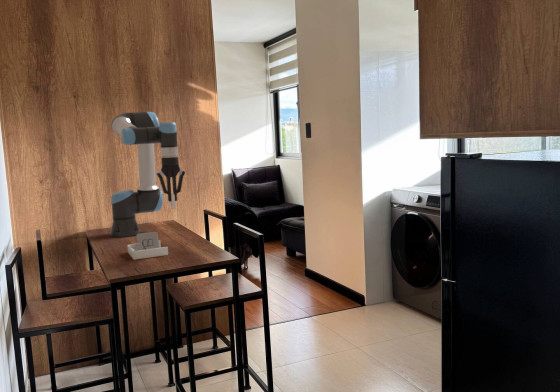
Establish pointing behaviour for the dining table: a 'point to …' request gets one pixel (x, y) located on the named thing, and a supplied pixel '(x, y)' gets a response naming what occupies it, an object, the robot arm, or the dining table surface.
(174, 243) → the dining table surface
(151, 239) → the electrical switch
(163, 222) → the dining table surface
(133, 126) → the robot arm
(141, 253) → the u-shaped bracket
